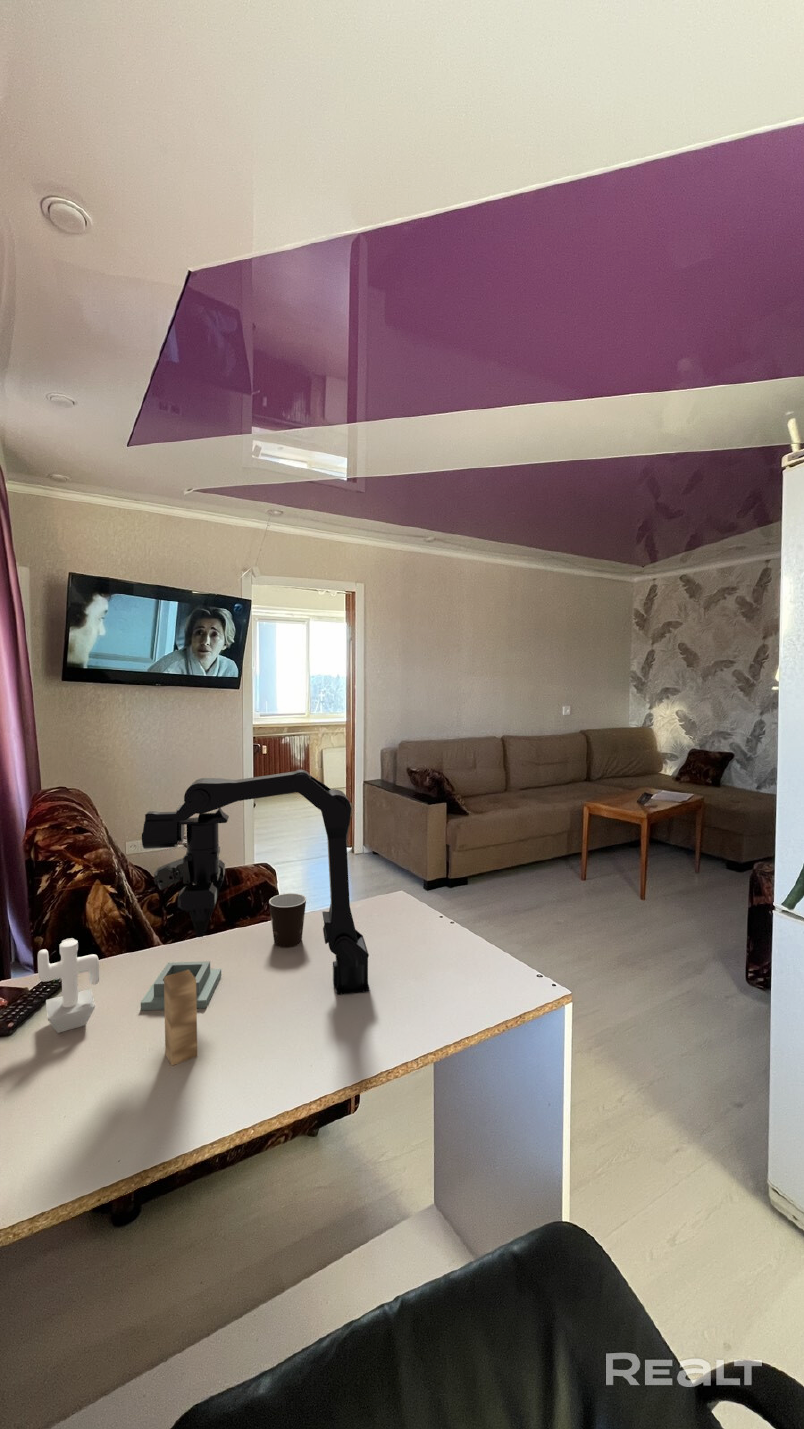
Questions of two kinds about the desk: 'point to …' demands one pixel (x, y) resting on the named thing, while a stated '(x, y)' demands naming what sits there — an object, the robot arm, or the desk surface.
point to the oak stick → (180, 1016)
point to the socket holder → (204, 984)
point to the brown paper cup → (287, 919)
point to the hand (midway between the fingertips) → (203, 926)
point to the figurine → (69, 986)
